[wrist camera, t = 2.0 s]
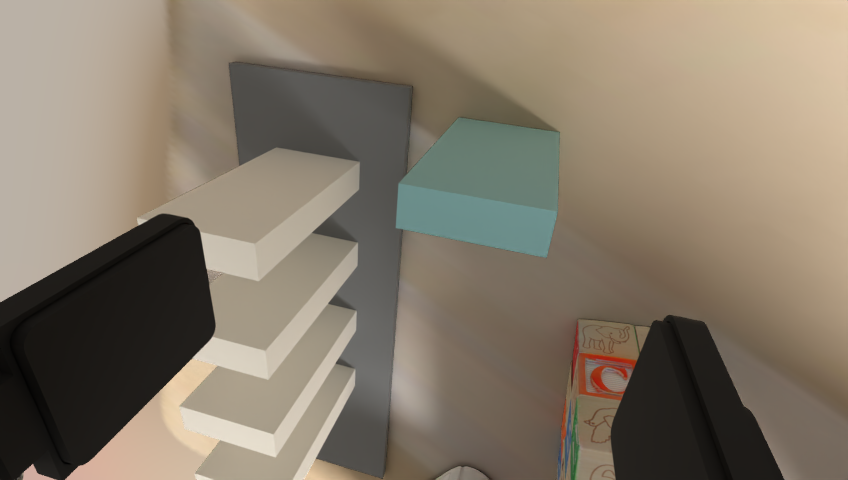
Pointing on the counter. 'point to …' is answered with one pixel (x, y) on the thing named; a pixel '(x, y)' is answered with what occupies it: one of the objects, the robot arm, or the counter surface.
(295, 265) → the domino
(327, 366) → the domino
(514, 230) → the domino
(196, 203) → the domino
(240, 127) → the domino mat
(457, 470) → the white rounded slab
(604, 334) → the stack of blocks
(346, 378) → the domino
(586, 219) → the counter surface
